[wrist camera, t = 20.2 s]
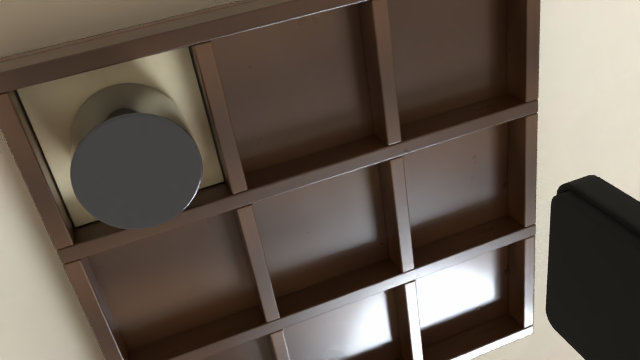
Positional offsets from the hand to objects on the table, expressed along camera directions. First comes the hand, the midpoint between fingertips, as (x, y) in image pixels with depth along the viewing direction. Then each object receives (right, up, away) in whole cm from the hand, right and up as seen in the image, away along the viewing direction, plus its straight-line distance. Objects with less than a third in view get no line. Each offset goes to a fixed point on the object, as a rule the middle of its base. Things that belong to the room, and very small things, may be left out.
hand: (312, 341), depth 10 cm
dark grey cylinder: (-7, +4, +14) cm, 16 cm away
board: (0, +1, +20) cm, 20 cm away
